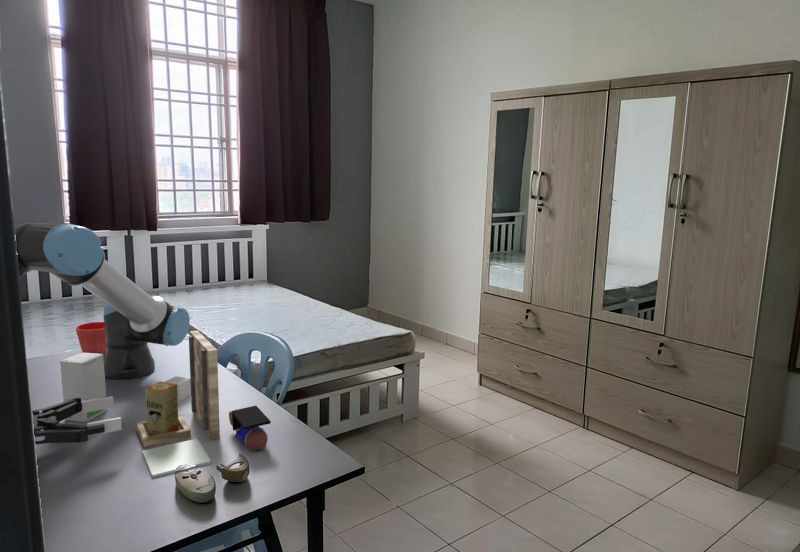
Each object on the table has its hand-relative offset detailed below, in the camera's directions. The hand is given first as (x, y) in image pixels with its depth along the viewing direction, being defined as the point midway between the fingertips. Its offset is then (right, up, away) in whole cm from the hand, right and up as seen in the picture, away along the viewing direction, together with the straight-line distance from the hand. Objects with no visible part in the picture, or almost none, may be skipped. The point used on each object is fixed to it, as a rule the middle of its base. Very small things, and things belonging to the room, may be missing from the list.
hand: (117, 412), depth 133 cm
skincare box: (-15, -5, +15) cm, 22 cm away
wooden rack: (+10, -6, +8) cm, 15 cm away
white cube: (+3, -3, +29) cm, 29 cm away
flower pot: (-38, +5, +63) cm, 73 cm away
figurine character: (+29, -8, +5) cm, 31 cm away
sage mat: (+16, -9, -5) cm, 19 cm away
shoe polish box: (+8, -7, +7) cm, 12 cm away
